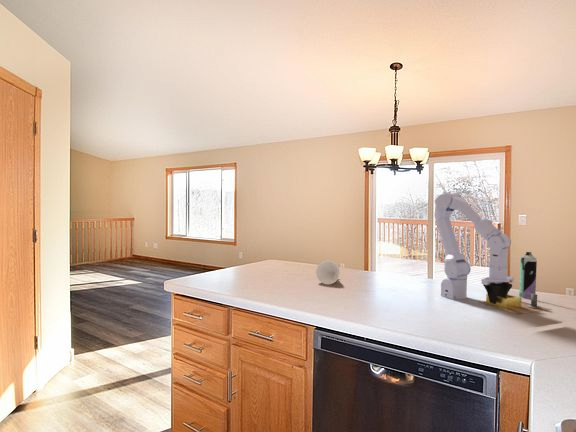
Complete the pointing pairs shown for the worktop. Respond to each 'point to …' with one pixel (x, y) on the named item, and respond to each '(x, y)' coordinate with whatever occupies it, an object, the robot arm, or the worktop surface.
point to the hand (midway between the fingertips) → (497, 302)
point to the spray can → (527, 276)
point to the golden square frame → (506, 301)
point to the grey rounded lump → (327, 272)
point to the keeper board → (523, 307)
